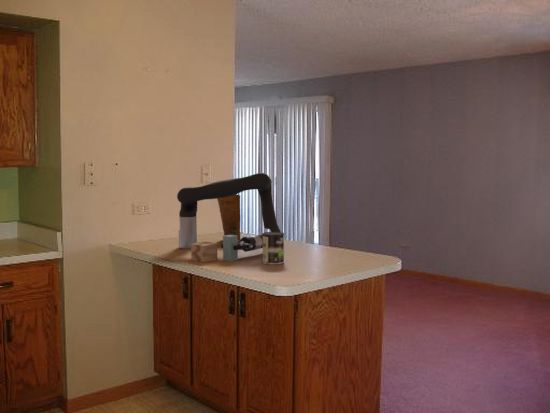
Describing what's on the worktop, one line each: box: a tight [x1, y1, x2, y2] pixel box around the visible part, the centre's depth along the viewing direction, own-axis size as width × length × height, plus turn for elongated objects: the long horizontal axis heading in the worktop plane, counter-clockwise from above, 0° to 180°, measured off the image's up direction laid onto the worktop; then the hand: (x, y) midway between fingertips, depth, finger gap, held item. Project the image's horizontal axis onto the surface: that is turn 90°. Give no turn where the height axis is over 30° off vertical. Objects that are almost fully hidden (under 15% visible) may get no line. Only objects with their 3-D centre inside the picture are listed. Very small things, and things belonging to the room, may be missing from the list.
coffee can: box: [261, 231, 285, 265], centre depth 269 cm, size 10×10×14 cm
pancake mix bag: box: [216, 194, 241, 241], centre depth 335 cm, size 7×19×28 cm, turn 43°
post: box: [222, 234, 239, 262], centre depth 276 cm, size 5×5×12 cm
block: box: [190, 241, 218, 263], centre depth 277 cm, size 9×9×8 cm
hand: (227, 247), depth 275 cm, fingers open, 8 cm apart
